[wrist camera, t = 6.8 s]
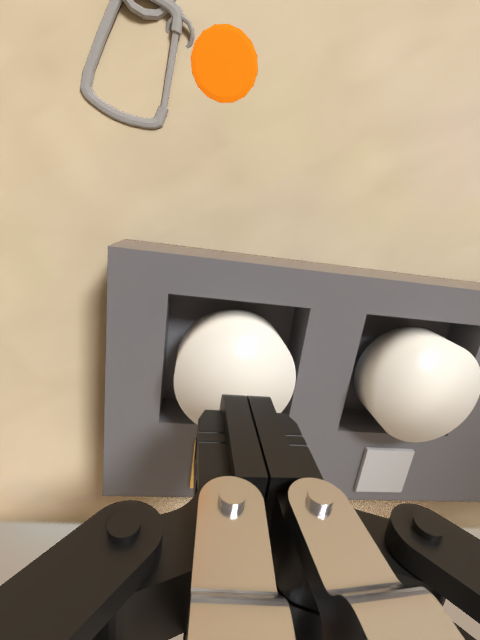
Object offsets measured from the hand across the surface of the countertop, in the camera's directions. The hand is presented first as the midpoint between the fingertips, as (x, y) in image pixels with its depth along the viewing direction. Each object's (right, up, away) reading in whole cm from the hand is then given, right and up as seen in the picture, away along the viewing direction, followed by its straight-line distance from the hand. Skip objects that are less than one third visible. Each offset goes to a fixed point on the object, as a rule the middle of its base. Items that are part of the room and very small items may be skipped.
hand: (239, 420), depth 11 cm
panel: (+7, 0, +8) cm, 10 cm away
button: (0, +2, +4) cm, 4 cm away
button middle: (+8, +1, +5) cm, 9 cm away
